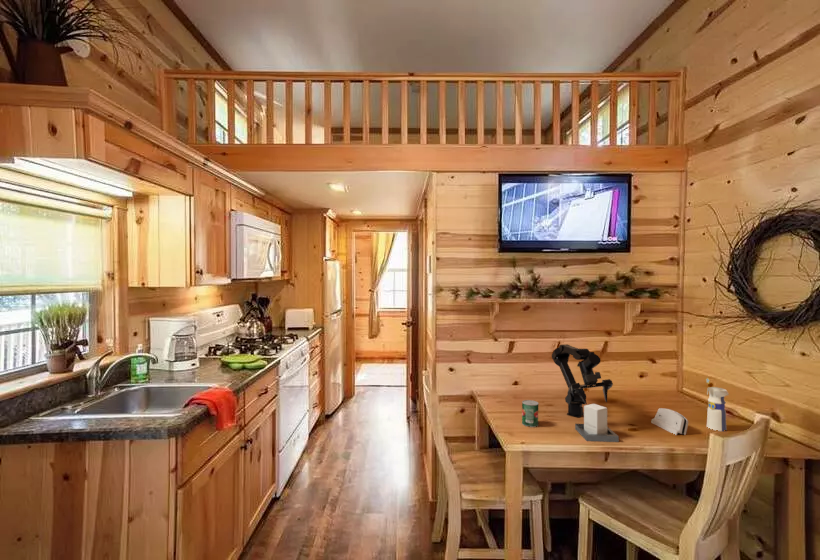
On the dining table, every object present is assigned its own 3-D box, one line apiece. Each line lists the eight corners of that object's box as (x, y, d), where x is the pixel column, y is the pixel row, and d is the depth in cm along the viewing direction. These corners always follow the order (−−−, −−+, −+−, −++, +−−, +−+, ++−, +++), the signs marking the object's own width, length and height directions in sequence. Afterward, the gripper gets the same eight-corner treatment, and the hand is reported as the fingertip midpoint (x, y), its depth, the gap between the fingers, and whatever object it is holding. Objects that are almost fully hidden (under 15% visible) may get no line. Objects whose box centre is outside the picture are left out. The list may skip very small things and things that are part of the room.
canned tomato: (519, 421, 197) (519, 400, 197) (534, 421, 197) (534, 399, 197) (525, 427, 189) (525, 405, 189) (541, 427, 189) (541, 404, 189)
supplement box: (607, 435, 179) (608, 407, 179) (597, 437, 175) (597, 410, 175) (594, 429, 185) (594, 403, 185) (583, 432, 182) (583, 405, 182)
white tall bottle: (719, 432, 184) (720, 380, 184) (701, 426, 192) (702, 376, 192) (732, 430, 186) (732, 379, 186) (713, 424, 194) (714, 374, 194)
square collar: (575, 428, 187) (575, 423, 187) (604, 429, 186) (604, 424, 186) (586, 440, 173) (586, 435, 173) (618, 442, 172) (618, 436, 172)
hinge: (650, 422, 197) (656, 403, 197) (658, 425, 197) (664, 406, 198) (676, 435, 180) (683, 415, 180) (685, 438, 181) (691, 418, 181)
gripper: (568, 369, 190) (577, 400, 182) (608, 364, 186) (619, 396, 178) (567, 376, 199) (575, 407, 191) (606, 371, 195) (616, 402, 187)
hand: (596, 403), depth 186 cm, fingers open, 9 cm apart
